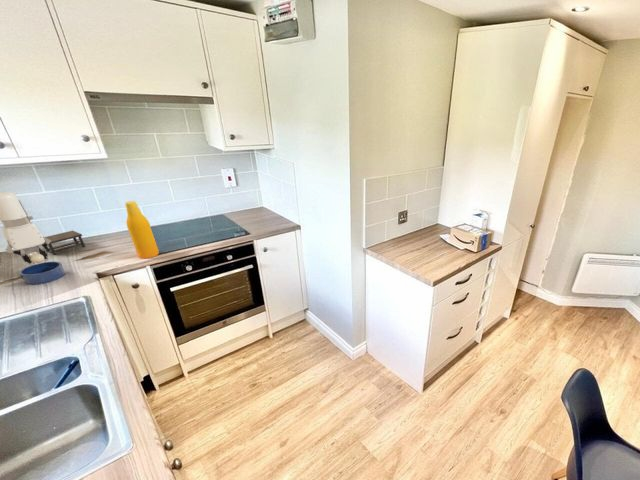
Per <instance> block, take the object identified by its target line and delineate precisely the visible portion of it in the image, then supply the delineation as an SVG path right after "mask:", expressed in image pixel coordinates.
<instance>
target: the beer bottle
mask: <svg viewBox="0 0 640 480" xmlns="http://www.w3.org/2000/svg"><path fill="white" fill-rule="evenodd" d="M124 205H125V209H126V214H127V217H126V223H125V224H126V227H127V230H128V232H129V235H130V238H131V241H132V244H133V246H134V249H135V251H136V254H137V257H138V258H139V259H151V258H154V257H157V256H158V255H159V254H160V251H159V247H158V244H157V242H156V239H155V237H154V233H153V230H152V228H151V224H150V221H149V220H148V219H147V217H146V216H145V215H144V214H143V213H142V211H141V210H140V208H139V206H138V203H137V202H136V201H134V200H130V201H126V202H124Z"/></svg>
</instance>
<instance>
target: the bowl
mask: <svg viewBox="0 0 640 480" xmlns="http://www.w3.org/2000/svg"><path fill="white" fill-rule="evenodd" d="M65 274H66V270H65V268H64V266H63V264H62V262H60V261H45V262H43V263H40V264H36V265H35V264H32V265H29V266H27V267H24V268H22V269H21V270H19V275H20V277H21V278H22V280H23V282H24V283H25V284H30V285H40V284H41V283H42V284H46V282H47V283H50V282H52V281H55V280H56V281H57V280H58V279H60V278H62V277H63V276H64V275H65ZM61 276H62V277H61Z"/></svg>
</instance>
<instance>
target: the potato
mask: <svg viewBox="0 0 640 480" xmlns="http://www.w3.org/2000/svg"><path fill="white" fill-rule="evenodd" d="M27 255H28V257H29V258H30V261H31V262H32V263H31V264H33V265H36V264H40V263H43V262H46V261H45V259H44V256H43V255H41V254H40V253H39V252H36V251H31V252H29V253H28V254H27Z"/></svg>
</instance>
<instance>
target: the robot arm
mask: <svg viewBox="0 0 640 480" xmlns="http://www.w3.org/2000/svg"><path fill="white" fill-rule="evenodd" d="M32 220H34V217H33V216H32V215H30V216H29V215H27V213H26V211H25V210H24V208H23V206H22V204H21V202H20V199H19V198H18V197H17V195H16V194H15V193H14V192H12V191H0V222H1V223H2V227H1V231H2V234H3V237H4V239H5V241H6V242H7V243H6V244H7V245H6V247H5V250H4V251H5V253H9V254H15V255H18V256H21V259H22V260H23V261H24V262H25V263H28V264H33V263H32V262H31V261H30V258H29V257H28V254H26V251H25V250H26V249H29V248H32V247H33V248H34V247H36V248H38V250H37V251H38V253H40V254H41V255H43V256H44V260H47V259H48V258H47V257H48V254H47V252H46V250H45V248H46V247H48V244H49V243H50V242H51V240H49V239H47V238H45V237H46V236H43V234H42V233H41V232H40V230H39V228H37V226H36V225H35V223H34V222H33V221H32Z"/></svg>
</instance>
